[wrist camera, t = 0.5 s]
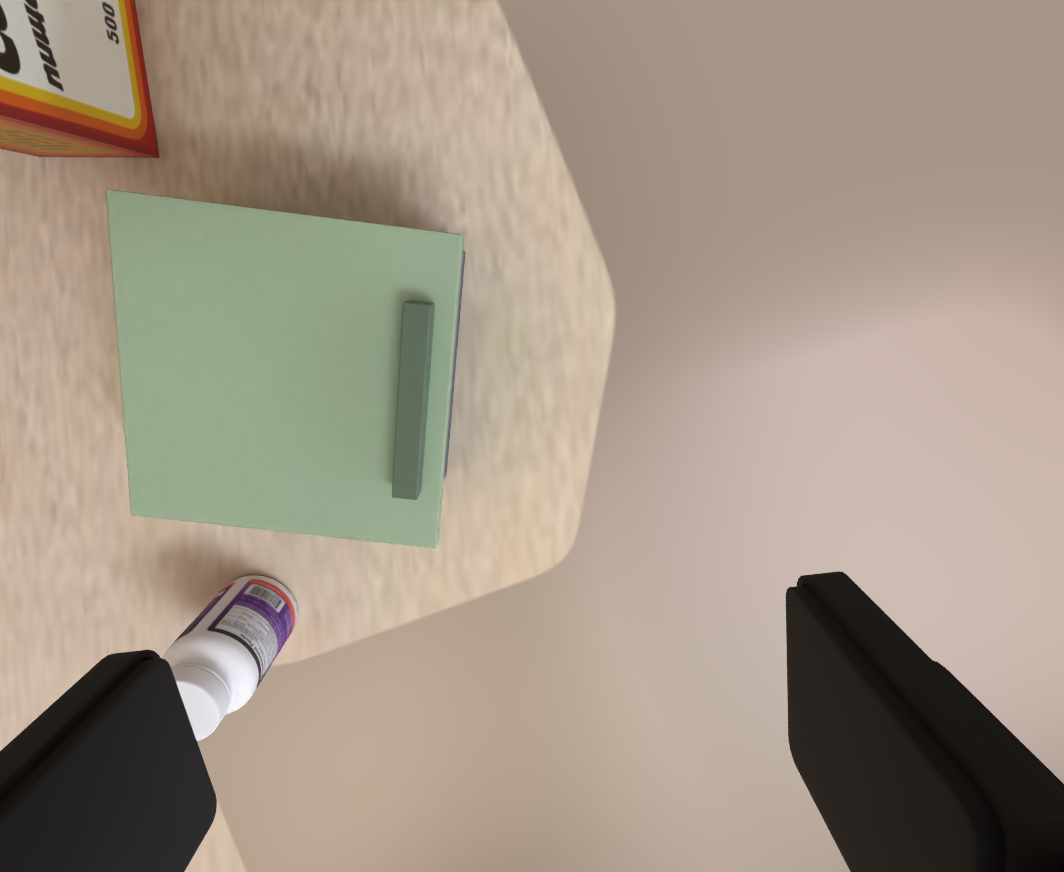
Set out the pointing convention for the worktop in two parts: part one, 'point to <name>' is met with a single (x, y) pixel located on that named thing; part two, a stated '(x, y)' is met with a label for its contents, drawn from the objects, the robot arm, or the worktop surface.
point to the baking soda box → (74, 80)
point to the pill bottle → (230, 648)
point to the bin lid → (284, 367)
